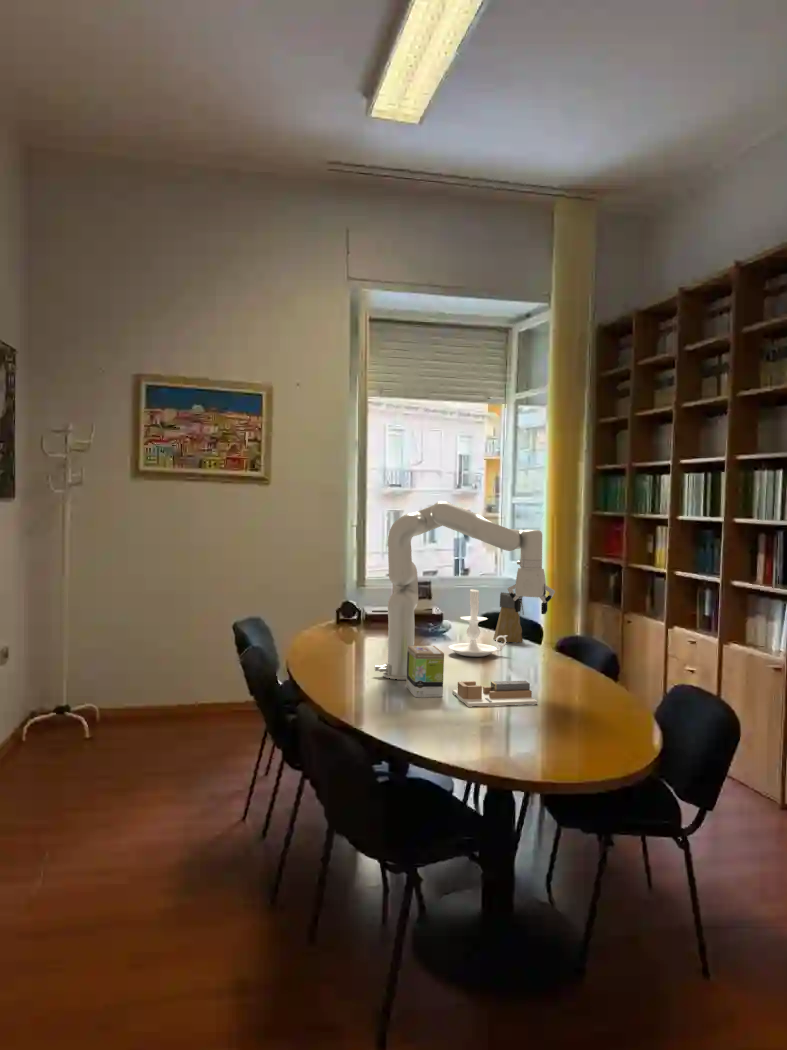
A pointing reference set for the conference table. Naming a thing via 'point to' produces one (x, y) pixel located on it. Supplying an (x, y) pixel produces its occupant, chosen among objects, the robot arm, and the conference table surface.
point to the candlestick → (475, 632)
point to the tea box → (425, 671)
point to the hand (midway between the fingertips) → (530, 612)
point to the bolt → (509, 685)
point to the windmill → (508, 620)
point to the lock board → (491, 695)
